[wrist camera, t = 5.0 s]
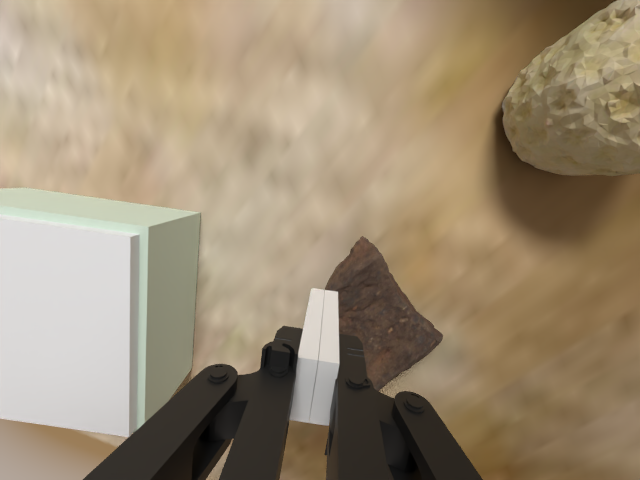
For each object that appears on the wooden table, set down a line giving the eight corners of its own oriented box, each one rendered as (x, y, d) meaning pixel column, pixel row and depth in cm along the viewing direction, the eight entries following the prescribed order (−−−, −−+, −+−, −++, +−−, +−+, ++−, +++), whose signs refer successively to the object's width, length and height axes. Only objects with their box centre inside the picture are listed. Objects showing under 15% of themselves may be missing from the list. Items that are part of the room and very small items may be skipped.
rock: (359, 231, 23) (370, 244, 19) (436, 320, 26) (458, 346, 22) (253, 320, 24) (246, 347, 21) (336, 397, 27) (341, 433, 23)
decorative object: (548, 180, 26) (754, 158, 17) (486, 191, 20) (743, 167, 12) (544, 64, 24) (765, -20, 16) (477, 43, 19) (758, -101, 11)
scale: (26, 187, 24) (-117, 192, 16) (200, 212, 24) (139, 229, 16) (36, 355, 27) (-79, 425, 19) (191, 377, 27) (136, 457, 19)
